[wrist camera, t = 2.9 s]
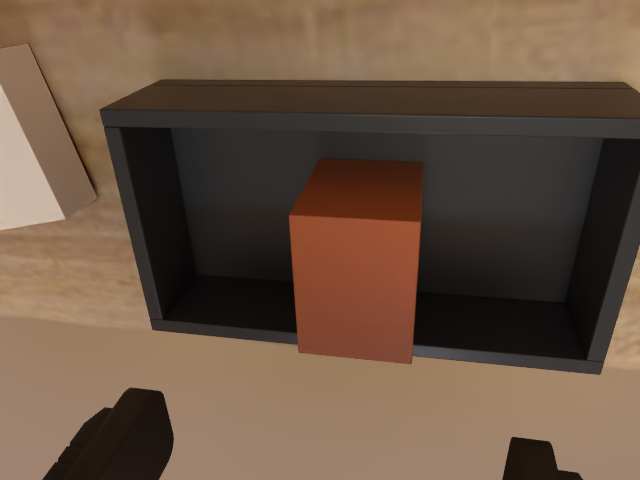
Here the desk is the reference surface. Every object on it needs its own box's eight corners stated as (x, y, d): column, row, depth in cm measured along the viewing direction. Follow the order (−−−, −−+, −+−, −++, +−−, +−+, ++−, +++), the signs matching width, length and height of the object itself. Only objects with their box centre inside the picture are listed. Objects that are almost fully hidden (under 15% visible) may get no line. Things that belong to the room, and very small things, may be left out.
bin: (571, 301, 22) (600, 375, 18) (194, 272, 25) (151, 330, 21) (625, 81, 18) (679, 119, 14) (159, 79, 21) (98, 109, 17)
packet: (415, 283, 22) (411, 364, 18) (323, 277, 23) (298, 353, 19) (423, 161, 19) (421, 222, 15) (318, 158, 20) (288, 215, 16)
